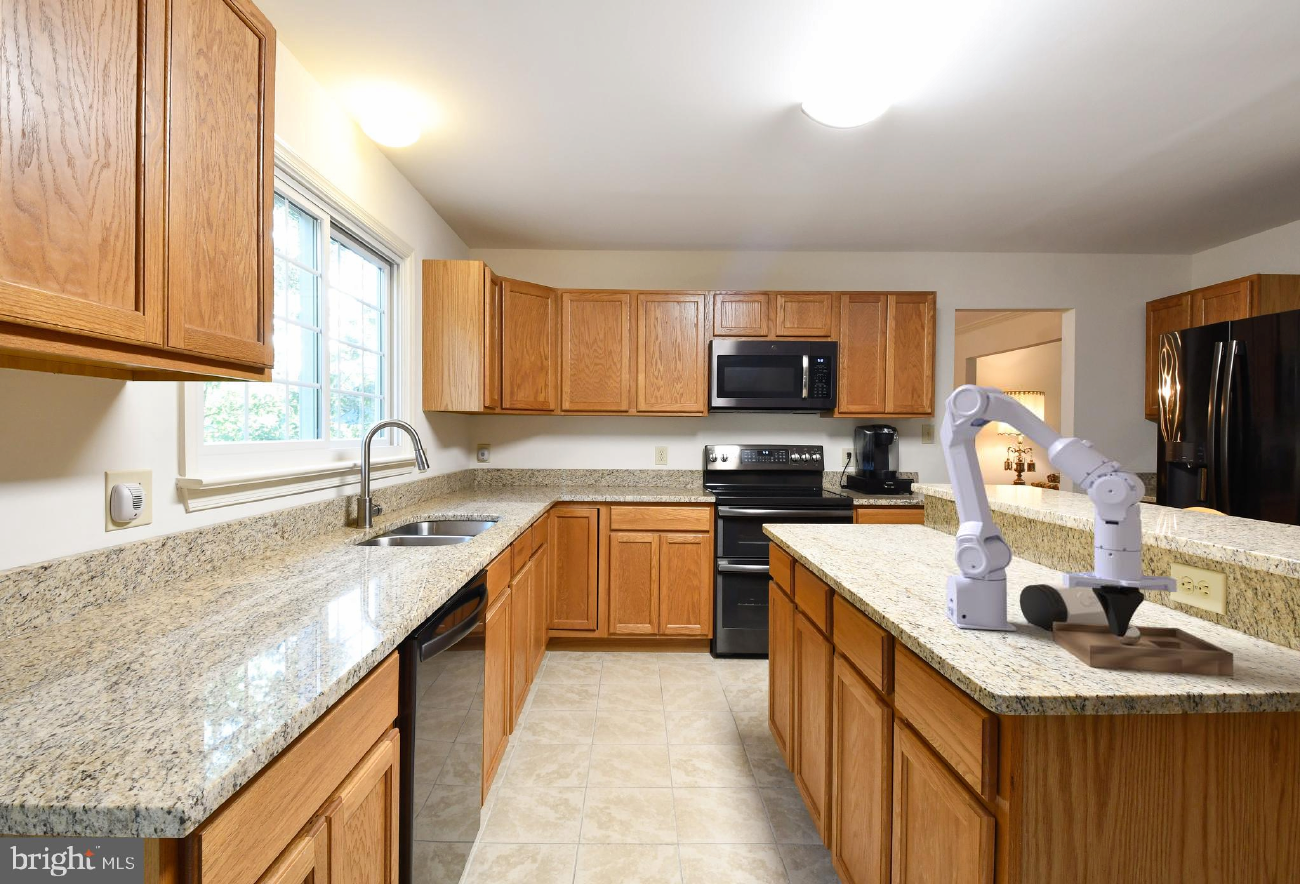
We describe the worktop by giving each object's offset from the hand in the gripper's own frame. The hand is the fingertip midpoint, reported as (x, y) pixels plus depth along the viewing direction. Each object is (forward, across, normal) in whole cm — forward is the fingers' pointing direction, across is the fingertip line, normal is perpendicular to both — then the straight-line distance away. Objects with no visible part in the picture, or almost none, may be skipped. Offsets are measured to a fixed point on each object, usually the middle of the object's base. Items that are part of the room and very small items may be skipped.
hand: (1118, 635), depth 87 cm
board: (+3, +2, 0) cm, 4 cm away
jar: (-1, +6, +17) cm, 18 cm away
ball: (0, +1, 0) cm, 1 cm away
